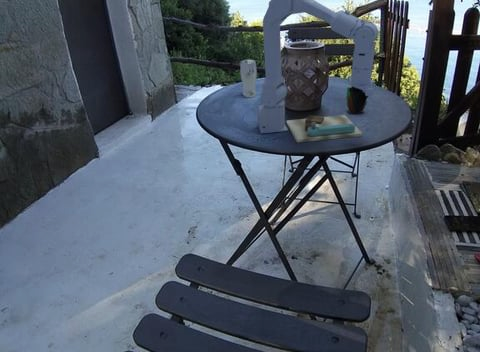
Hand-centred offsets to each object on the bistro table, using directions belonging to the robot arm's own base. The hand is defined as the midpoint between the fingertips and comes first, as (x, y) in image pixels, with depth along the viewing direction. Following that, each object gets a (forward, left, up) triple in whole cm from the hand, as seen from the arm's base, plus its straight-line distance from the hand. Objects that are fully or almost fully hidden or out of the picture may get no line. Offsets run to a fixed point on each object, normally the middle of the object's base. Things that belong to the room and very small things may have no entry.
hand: (357, 111), depth 115 cm
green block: (+13, +35, -10) cm, 38 cm away
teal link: (-6, +5, -8) cm, 11 cm away
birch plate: (-8, +11, -10) cm, 16 cm away
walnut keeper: (-11, +10, -9) cm, 17 cm away
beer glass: (-28, +55, -10) cm, 62 cm away
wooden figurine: (+9, +24, -10) cm, 27 cm away
